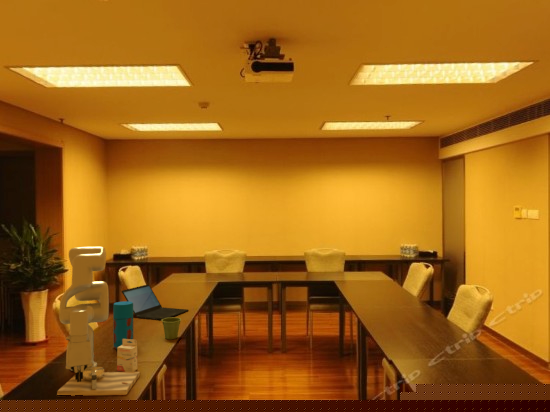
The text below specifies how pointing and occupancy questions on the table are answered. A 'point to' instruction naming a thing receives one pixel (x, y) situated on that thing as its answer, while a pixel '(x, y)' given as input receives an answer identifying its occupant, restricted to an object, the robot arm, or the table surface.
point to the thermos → (122, 322)
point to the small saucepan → (93, 375)
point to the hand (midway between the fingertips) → (79, 380)
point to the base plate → (101, 385)
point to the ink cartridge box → (127, 356)
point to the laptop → (149, 304)
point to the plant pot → (171, 327)
